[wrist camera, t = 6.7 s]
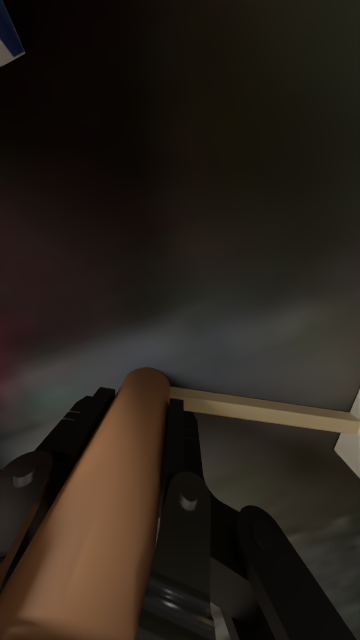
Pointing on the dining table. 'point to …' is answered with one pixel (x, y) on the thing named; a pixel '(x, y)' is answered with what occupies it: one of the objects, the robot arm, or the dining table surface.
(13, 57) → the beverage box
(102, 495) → the corded block
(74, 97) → the dining table surface
